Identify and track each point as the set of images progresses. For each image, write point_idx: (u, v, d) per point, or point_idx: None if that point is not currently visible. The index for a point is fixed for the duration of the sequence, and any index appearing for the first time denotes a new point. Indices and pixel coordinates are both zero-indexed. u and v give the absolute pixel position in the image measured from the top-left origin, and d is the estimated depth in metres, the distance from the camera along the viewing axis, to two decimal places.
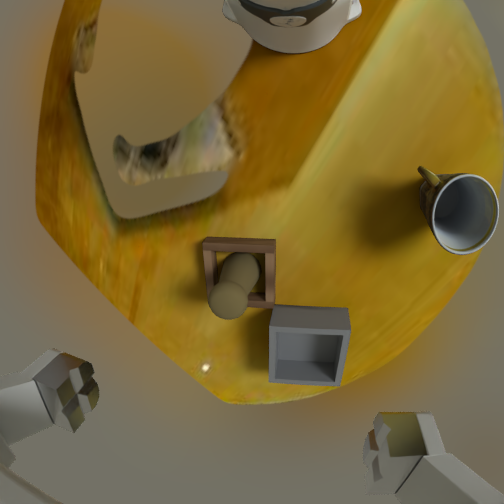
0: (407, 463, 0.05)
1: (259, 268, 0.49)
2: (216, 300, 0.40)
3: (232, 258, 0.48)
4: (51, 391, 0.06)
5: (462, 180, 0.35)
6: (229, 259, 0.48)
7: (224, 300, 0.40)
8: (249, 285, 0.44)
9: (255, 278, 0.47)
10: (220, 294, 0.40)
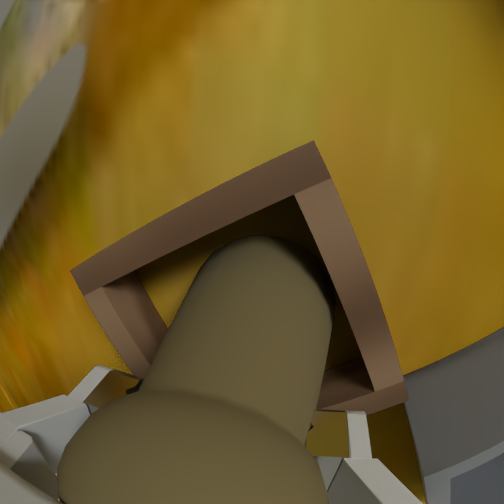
0: (328, 464, 0.06)
1: (283, 244, 0.12)
2: None
3: None
4: None
5: None
6: None
7: None
8: (257, 330, 0.07)
9: (284, 281, 0.10)
10: None
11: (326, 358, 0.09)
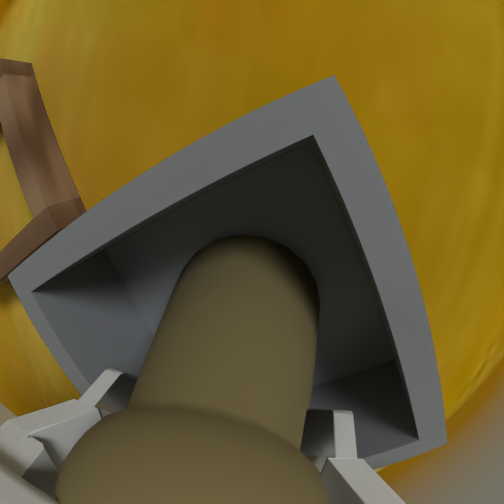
0: None
1: (267, 244, 0.12)
2: None
3: None
4: None
5: None
6: None
7: None
8: (247, 337, 0.07)
9: (270, 283, 0.09)
10: None
11: None
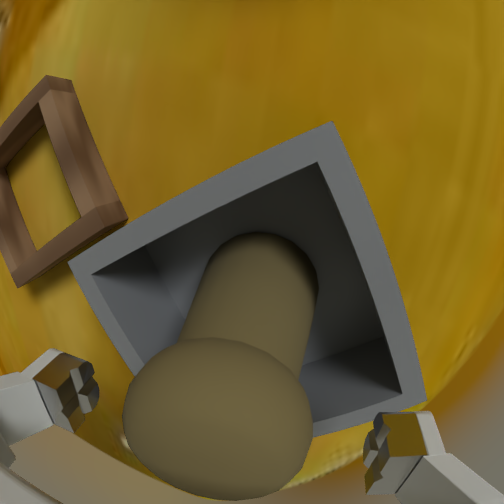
0: (407, 463, 0.05)
1: (277, 239, 0.15)
2: (158, 471, 0.07)
3: None
4: (51, 391, 0.06)
5: None
6: None
7: (162, 456, 0.06)
8: (260, 302, 0.10)
9: (278, 267, 0.13)
10: (136, 445, 0.06)
11: (310, 327, 0.13)
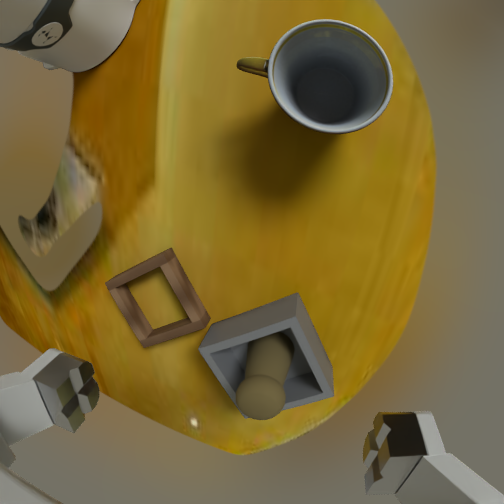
0: (407, 463, 0.05)
1: (277, 333, 0.38)
2: (245, 410, 0.30)
3: (247, 353, 0.38)
4: (51, 391, 0.06)
5: (326, 53, 0.26)
6: None
7: (249, 404, 0.29)
8: (271, 362, 0.33)
9: (277, 347, 0.36)
10: (241, 403, 0.30)
11: (288, 367, 0.35)
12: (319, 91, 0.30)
